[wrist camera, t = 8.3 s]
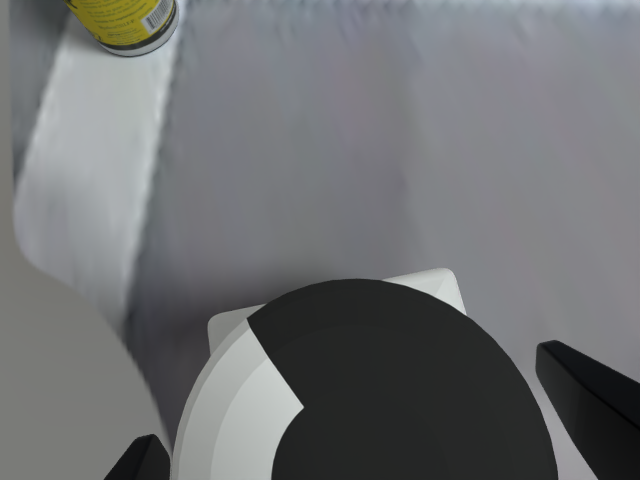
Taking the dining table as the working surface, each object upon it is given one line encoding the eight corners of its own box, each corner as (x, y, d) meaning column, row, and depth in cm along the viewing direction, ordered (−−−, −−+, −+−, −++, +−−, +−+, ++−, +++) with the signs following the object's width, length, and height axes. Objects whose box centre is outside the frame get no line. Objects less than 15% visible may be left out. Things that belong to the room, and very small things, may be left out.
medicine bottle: (415, 297, 18) (526, 196, 7) (462, 475, 16) (735, 768, 5) (257, 330, 18) (100, 286, 7) (285, 511, 16) (127, 880, 5)
